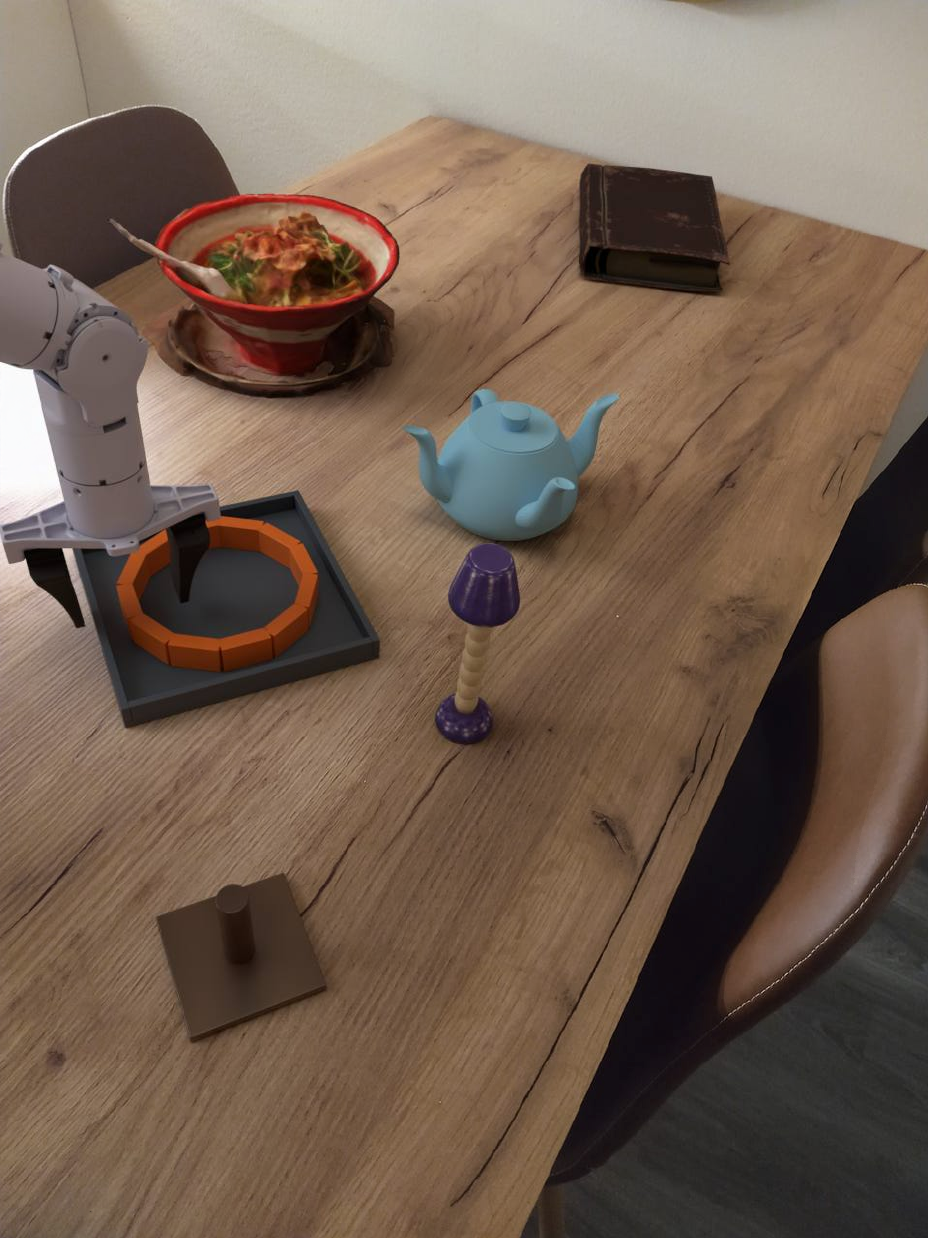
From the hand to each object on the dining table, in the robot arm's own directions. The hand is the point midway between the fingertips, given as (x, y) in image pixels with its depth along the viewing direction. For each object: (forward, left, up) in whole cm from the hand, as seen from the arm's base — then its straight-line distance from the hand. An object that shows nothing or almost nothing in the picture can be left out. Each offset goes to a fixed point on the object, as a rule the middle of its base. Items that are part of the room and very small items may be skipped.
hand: (130, 606), depth 77 cm
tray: (+7, 0, -2) cm, 7 cm away
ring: (+7, 0, -2) cm, 7 cm away
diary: (+76, +47, -2) cm, 89 cm away
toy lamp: (+20, -18, -2) cm, 27 cm away
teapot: (+34, +3, -2) cm, 34 cm away
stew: (+22, +35, -2) cm, 41 cm away
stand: (0, -29, -2) cm, 29 cm away
